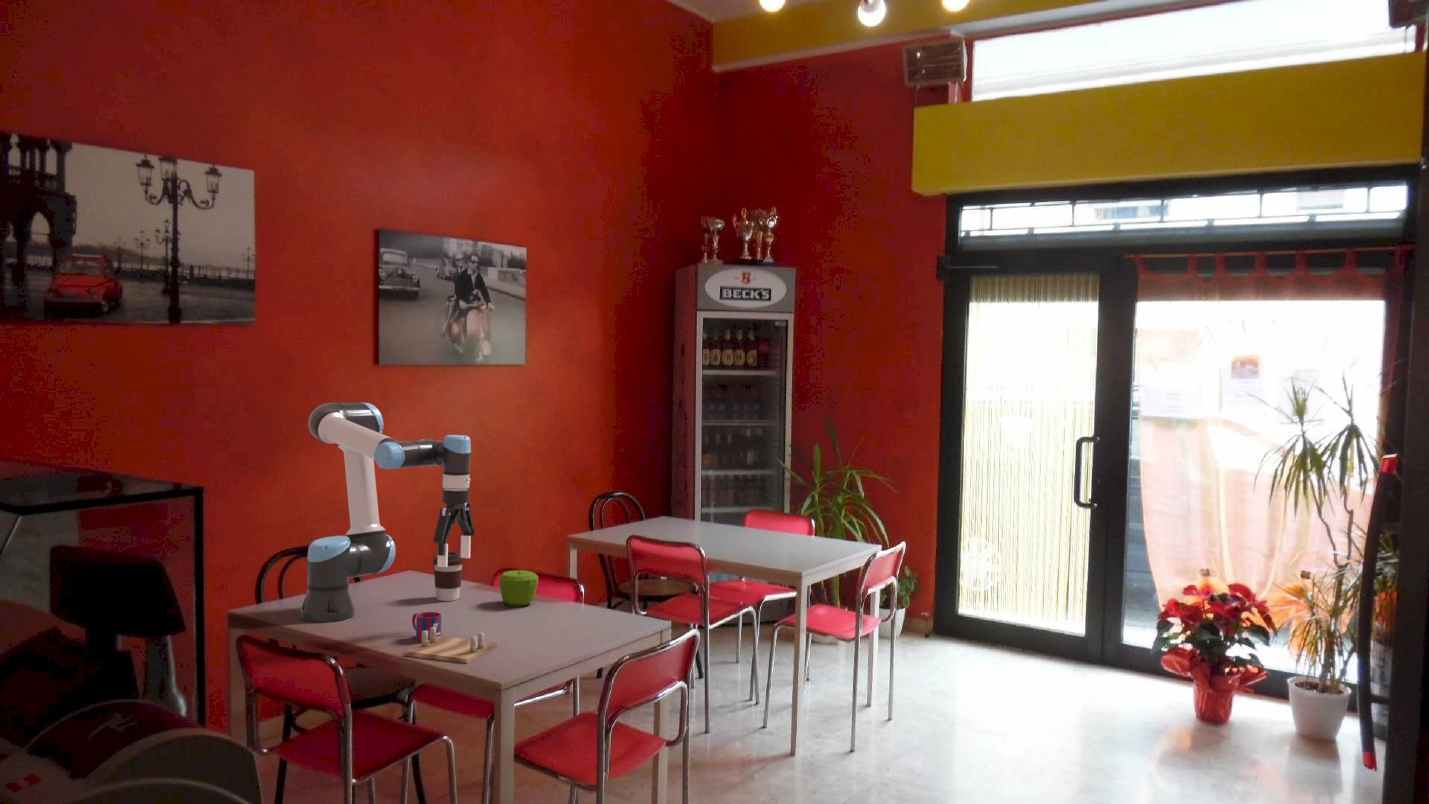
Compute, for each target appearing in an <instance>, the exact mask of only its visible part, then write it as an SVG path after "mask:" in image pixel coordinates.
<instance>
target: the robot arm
mask: <svg viewBox="0 0 1429 804" xmlns="http://www.w3.org/2000/svg"><path fill="white" fill-rule="evenodd" d="M307 423H308V429H309V431H310V433H311V435H312V436H313V437H314V438H315V439H317V440H318V441H321V442H322V443H326V444H328V445H329V444H337V448H339V449H340V450H341V451H342V452H343V457H344V467H345V481H346V489H347V501H348V502H347V503H348V511H349V513H348V514H349V523H350V528H349V529H348V531H347V532H346V533H345V535H334V536H324V537H321V538H317V539H315V540H313V541H312V542H311V543H310V544H309V546H308V551H307V557H306V559H307V585H306V586H307V591H306V594H305V597H304V599H303V602H302V604H301V605H302V606H301V608H300V619H301V620H303V621H306V622H312V623H313V622H315V623H316V622H318V623H322V622H323V623H328V622H337V621H342V620H343V621H344V620H347V619H349V618H352V617H354V616H355V606H354V602H353V599H352V595H351V593H350V589H349V588H350V587H349V585H350V584H349V583H350V579H351V578H357V577H364V576H368V575H376V574H379V573H382V572H385V571H387V570H388V569H389V568H390V567H391V566H392V564H393V563H394V561H395V557H396V544H395V542H394V540H393V537H391V536H390V535H388V534H387V533H386V528H385V527H383V526H382V525H381V524H380V515H379V505H378V504H379V502H378V495H377V493H378V491H377V482H376V481H377V480H376V472H375V464H377V467H379V468H381V469H383V470H386V469H387V470H388V469H389V470H396V469H405V468H408V469H409V468H416V467H417V468H419V467H430V466H431V467H432V466H433V467H442V469H443V471H442V488H443V490H442V495H441V497H442V499H441V500H442V503H444V504H445V505H446V507H441V508H439V516H438V520H437V525H436V528H435V533H434V536H433V539H432V540H433V543H434V544H437V555H438V562H437V566H439V567H447V563H448V552H449V543H447V542H448V540H449V536H450V534H451V532H452V529H453V526H454V525H455V524H456V523H457V524H458V526H459V529H460V531H461V533H462V535H461V536H460V557H461V558H464V559H471V544H472V543H471V542H472V541H471V539H472V536H473V537H474V536H475V533H476V528H475V524H474V520H473V519H474V518H473V514H472V511H471V509H472V508H471V506H472V505H471V503H470V490H469V488H470V482H471V478H470V477H471V475H470V474H471V452H472V448H471V447H472V446H471V445H472V444H471V438H470V436H468V435H463V434H447V435H445V436H444V437H443V440H439V439H434V438H423V439H420V440H409V441H408V440H405V441H403V440H402V441H400V440H398V439H395V438H392V437H390V436H389V435H388V436H387V435H386V434H382V433H383V430H384V420H383V415H382V414H381V412H380V410H379V409H378V408H377V407H376V405H374V404H372V403H368V402H359V401H358V402H328V403H323V404H320V405H318V406H317V407H315V409H314V410H312V411H311V413H310V415H309V417H308V421H307Z"/></svg>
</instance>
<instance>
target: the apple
mask: <svg viewBox="0 0 1429 804" xmlns="http://www.w3.org/2000/svg"><path fill="white" fill-rule="evenodd" d="M538 584H539V576H538V574H536V573H535V572H533V571H531V570H524V569H523V570H522V569H521V570H520V569H516V570H508V571H504V572H503V573H501V575H500V576H499V588H500V594H501V599H502V601H503V602H504V603H505V604H506V605H507V606H510V607H515V606H517V607H523V606H527V605H529V604H530V603H532V602H533V601H534V600H535V597H536V592H537V588H538Z"/></svg>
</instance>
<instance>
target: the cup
mask: <svg viewBox="0 0 1429 804" xmlns="http://www.w3.org/2000/svg"><path fill="white" fill-rule="evenodd" d="M411 619H412V620H411V624H412V627H413V629H414V630H415V640H416V641H418V642H421V643H422V631H425V630H426V631H428V641H429V640H430V627H436V637H438V636H442V613H440V612H437V611H425V612H419V613H417V612H416V613H413V615H412V618H411Z"/></svg>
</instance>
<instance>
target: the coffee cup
mask: <svg viewBox="0 0 1429 804" xmlns="http://www.w3.org/2000/svg"><path fill="white" fill-rule="evenodd" d="M437 562H438V554H437V556H435V557H433V559H432V564H433V565H434V570H433V571H434V572H433V573H434V587H435V597H436V600H438V601H441V602H451V601H456V600H458V599H459V598H460V592H461V591H460V590H461V586H462V579H463V578H462V576H463V564H464V563H465V558H461V553H460V552H457V551H456V552H455V551H448V563H447V567H439V566H437Z"/></svg>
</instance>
